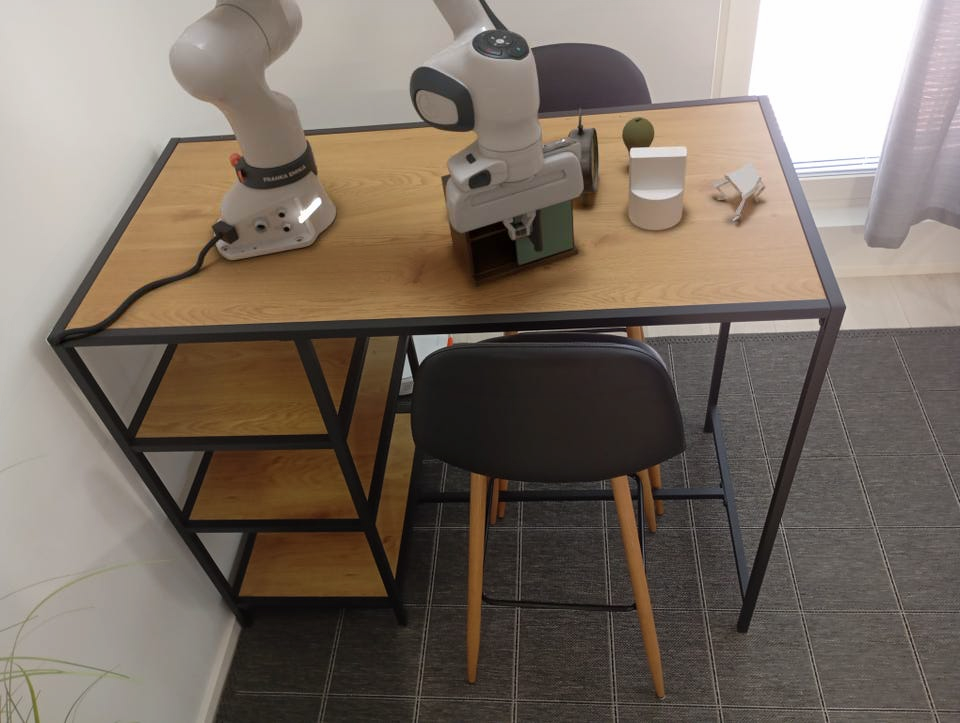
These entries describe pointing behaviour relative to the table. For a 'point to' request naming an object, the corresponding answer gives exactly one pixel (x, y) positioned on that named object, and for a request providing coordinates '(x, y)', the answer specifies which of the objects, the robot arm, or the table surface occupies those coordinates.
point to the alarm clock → (587, 157)
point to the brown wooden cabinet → (494, 250)
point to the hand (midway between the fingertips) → (519, 235)
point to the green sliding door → (546, 233)
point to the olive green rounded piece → (638, 133)
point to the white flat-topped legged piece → (742, 184)
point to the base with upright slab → (656, 186)
